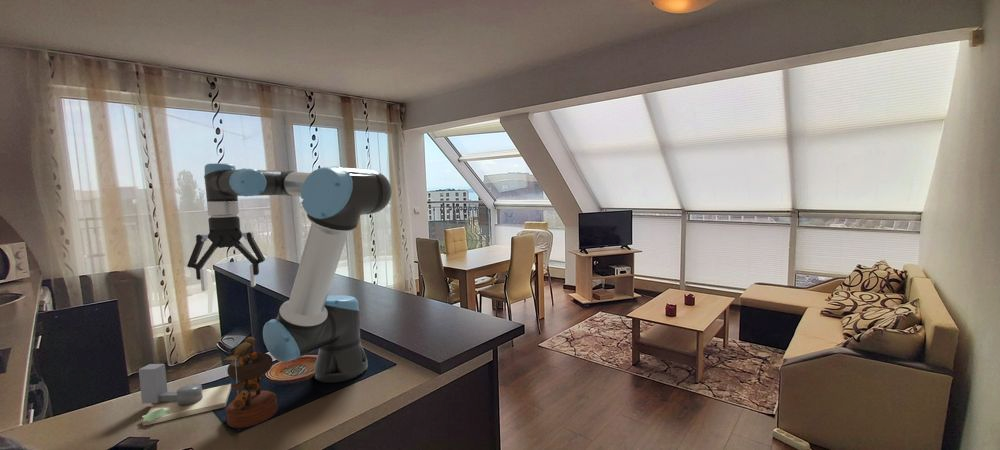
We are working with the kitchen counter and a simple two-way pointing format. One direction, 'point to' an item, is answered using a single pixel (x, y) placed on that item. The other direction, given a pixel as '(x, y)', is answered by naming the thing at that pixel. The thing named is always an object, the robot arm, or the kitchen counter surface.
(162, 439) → the kitchen counter surface
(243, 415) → the music box
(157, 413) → the board
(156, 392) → the grey block with ball
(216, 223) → the robot arm
